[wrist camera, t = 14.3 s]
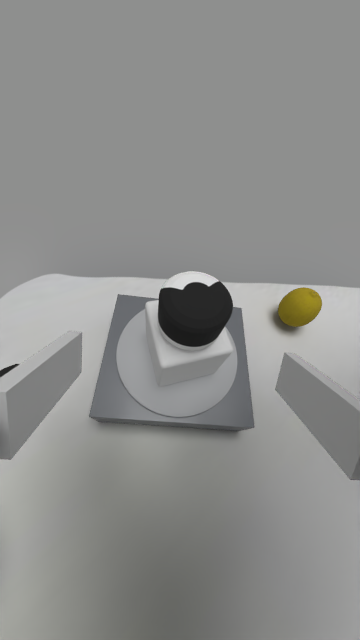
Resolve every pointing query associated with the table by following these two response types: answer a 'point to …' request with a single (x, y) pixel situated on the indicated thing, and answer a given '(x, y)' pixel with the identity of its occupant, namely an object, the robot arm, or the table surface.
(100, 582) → the table surface
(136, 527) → the table surface
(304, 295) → the lemon
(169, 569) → the table surface
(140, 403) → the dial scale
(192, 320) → the medicine bottle
